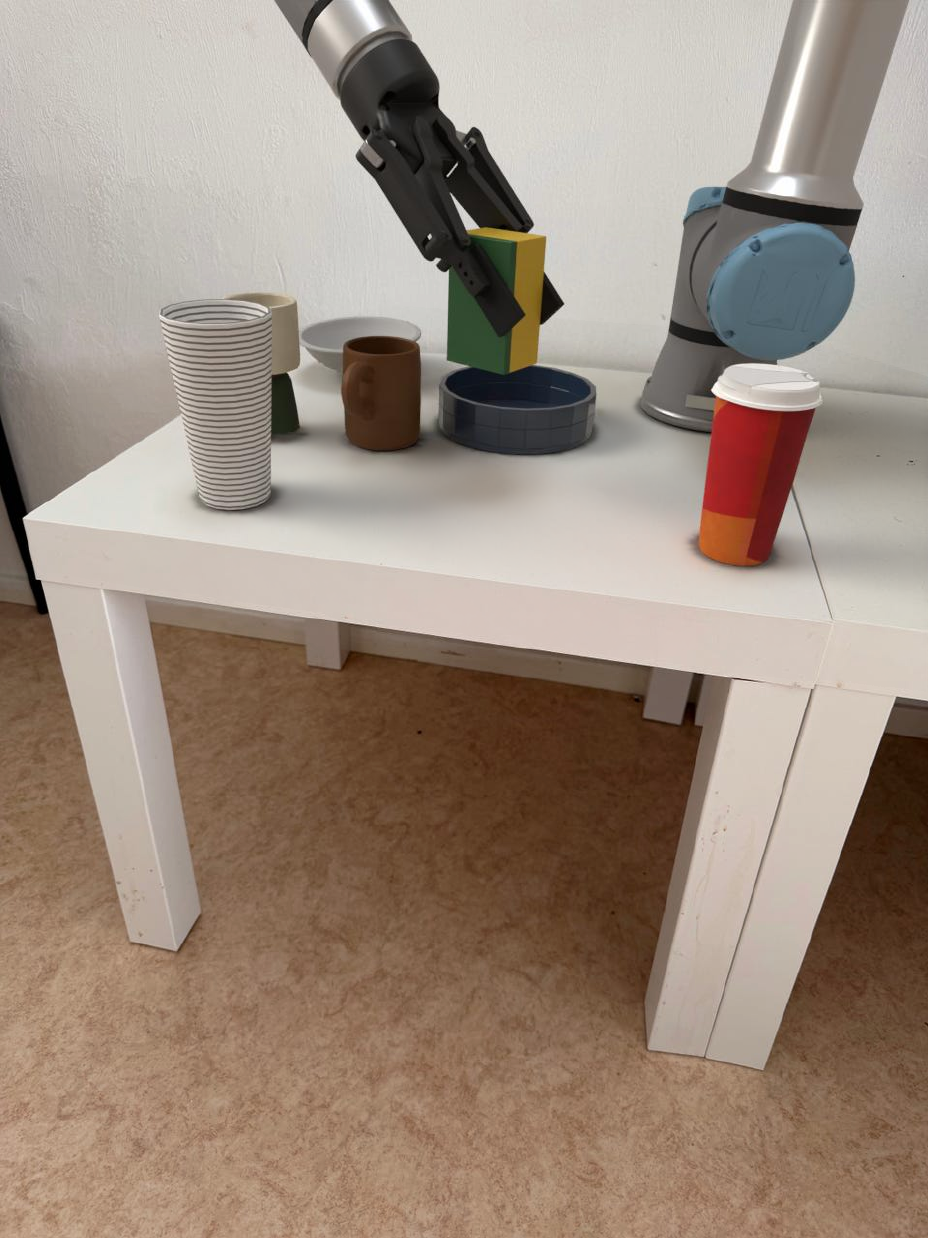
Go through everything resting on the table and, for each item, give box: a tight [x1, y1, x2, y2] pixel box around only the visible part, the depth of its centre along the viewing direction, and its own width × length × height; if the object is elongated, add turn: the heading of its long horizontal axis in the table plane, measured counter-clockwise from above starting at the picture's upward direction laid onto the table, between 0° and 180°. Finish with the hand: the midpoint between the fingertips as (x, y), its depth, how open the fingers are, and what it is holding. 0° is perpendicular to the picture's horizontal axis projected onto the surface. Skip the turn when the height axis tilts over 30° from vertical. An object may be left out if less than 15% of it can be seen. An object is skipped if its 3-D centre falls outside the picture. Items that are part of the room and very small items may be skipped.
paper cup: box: [698, 363, 823, 567], centre depth 67 cm, size 8×8×14 cm
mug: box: [340, 336, 422, 452], centre depth 86 cm, size 12×8×9 cm, turn 162°
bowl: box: [437, 364, 598, 455], centre depth 93 cm, size 16×16×4 cm
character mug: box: [221, 292, 301, 436], centre depth 87 cm, size 11×7×13 cm, turn 167°
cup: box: [158, 298, 272, 511], centre depth 72 cm, size 8×8×16 cm
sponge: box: [446, 227, 547, 375], centre depth 72 cm, size 5×6×10 cm
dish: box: [299, 315, 422, 373], centre depth 107 cm, size 18×14×5 cm
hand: (532, 319), depth 71 cm, fingers closed on sponge, 5 cm apart
